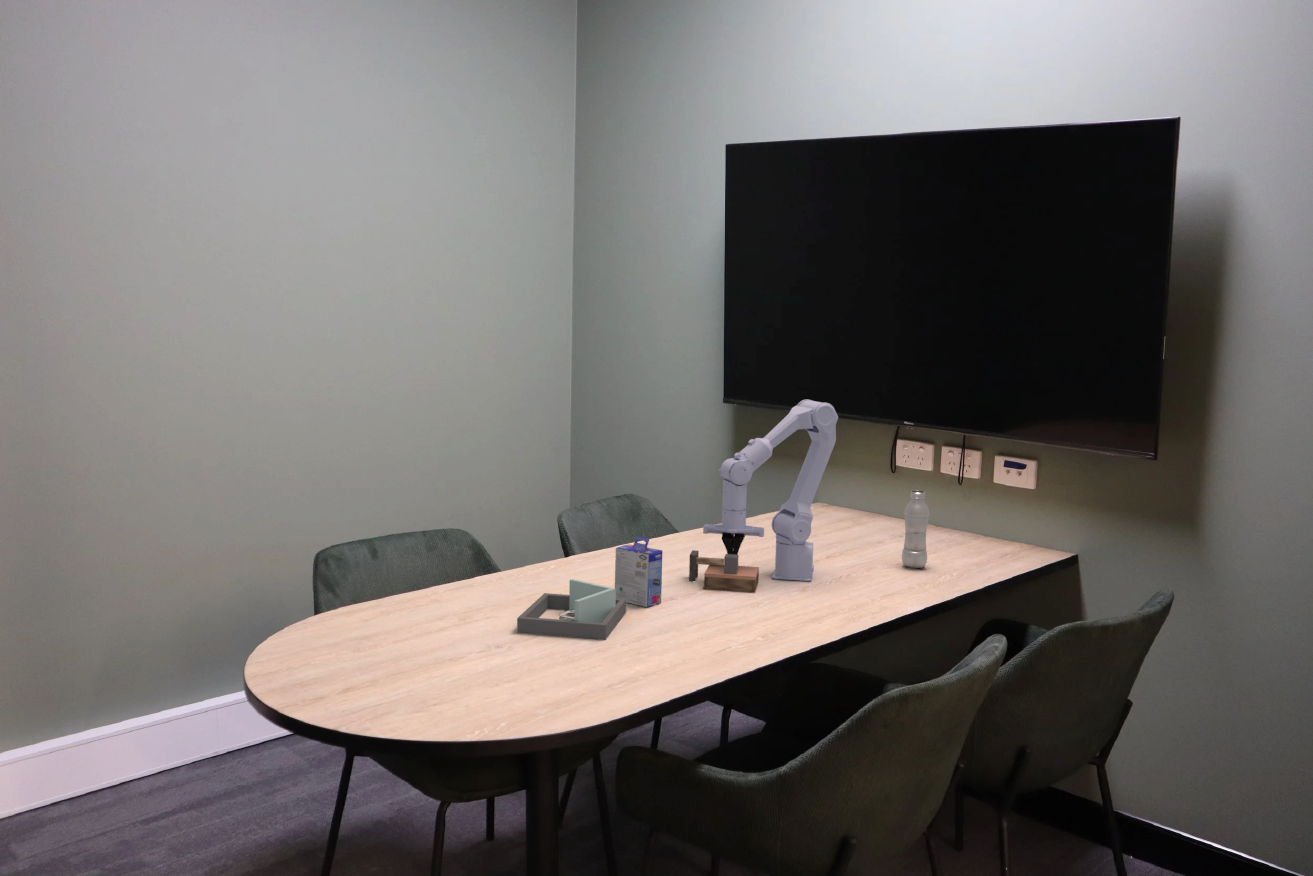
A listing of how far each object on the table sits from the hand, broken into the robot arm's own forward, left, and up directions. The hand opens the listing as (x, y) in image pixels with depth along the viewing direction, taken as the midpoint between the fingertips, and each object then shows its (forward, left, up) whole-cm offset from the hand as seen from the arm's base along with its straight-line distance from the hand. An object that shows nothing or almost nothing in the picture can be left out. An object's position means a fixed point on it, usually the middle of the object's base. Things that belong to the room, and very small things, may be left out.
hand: (732, 564), depth 242 cm
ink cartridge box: (+19, +21, -5) cm, 29 cm away
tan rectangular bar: (+6, 0, 0) cm, 6 cm away
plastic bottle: (-44, -26, -5) cm, 51 cm away
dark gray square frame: (+29, +39, -4) cm, 49 cm away
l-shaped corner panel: (+28, +39, -5) cm, 49 cm away
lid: (0, +3, -2) cm, 4 cm away
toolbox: (+2, +3, -4) cm, 6 cm away
